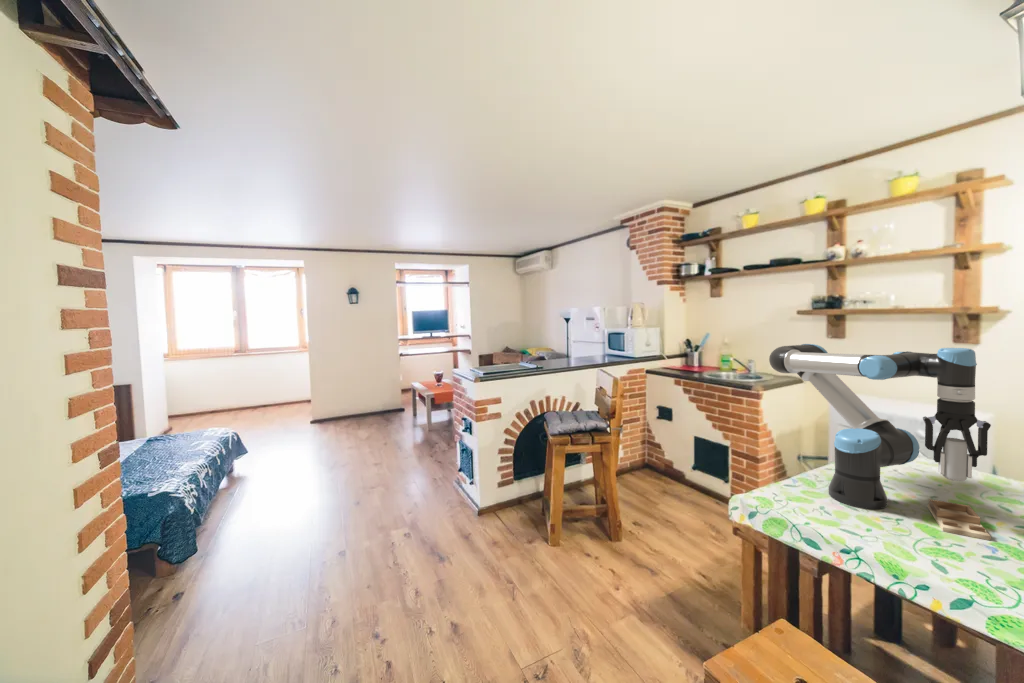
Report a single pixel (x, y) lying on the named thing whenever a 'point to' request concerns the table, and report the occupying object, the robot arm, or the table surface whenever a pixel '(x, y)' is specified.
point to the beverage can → (955, 459)
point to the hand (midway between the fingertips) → (954, 474)
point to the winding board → (957, 519)
